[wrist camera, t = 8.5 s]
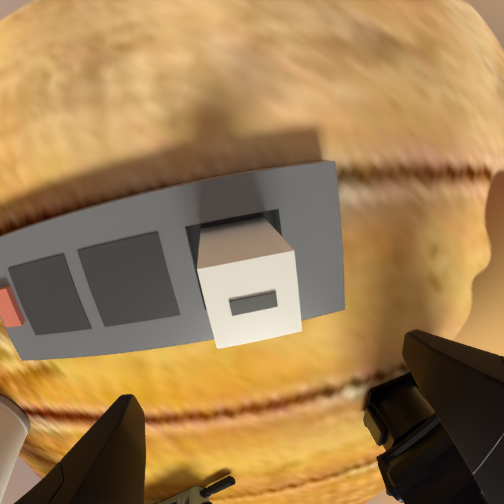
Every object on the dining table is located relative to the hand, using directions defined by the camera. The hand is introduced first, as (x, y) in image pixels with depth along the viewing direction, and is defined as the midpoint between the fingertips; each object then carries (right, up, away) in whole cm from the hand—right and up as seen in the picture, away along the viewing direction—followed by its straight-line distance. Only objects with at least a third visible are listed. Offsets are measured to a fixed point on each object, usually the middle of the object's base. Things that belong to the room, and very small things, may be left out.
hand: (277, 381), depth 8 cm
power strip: (-12, +2, +10) cm, 16 cm away
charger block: (-2, +4, +11) cm, 12 cm away
